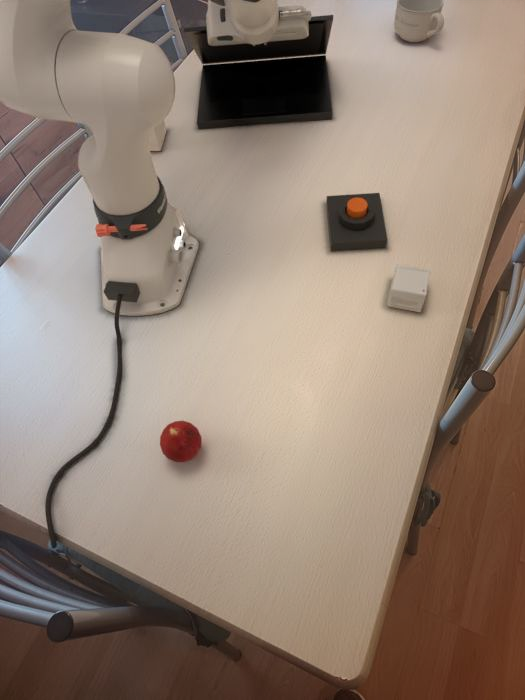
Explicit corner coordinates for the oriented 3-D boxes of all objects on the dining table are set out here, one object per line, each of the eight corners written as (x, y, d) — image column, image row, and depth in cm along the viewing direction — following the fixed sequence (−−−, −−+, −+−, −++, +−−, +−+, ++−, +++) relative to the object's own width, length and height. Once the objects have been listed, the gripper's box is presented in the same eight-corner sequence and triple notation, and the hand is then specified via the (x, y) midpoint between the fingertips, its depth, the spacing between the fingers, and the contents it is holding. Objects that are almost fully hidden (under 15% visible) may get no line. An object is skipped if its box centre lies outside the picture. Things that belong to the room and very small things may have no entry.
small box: (425, 286, 86) (431, 268, 81) (420, 313, 83) (426, 296, 79) (391, 280, 87) (396, 262, 83) (386, 307, 84) (390, 289, 80)
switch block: (385, 248, 91) (388, 232, 87) (330, 251, 91) (331, 236, 88) (378, 201, 97) (380, 185, 93) (326, 204, 97) (326, 188, 94)
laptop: (332, 119, 110) (332, 111, 109) (198, 129, 112) (196, 121, 111) (325, 62, 121) (325, 54, 120) (203, 72, 123) (202, 64, 122)
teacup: (385, 30, 126) (389, -6, 119) (424, 19, 127) (431, -16, 120) (409, 58, 119) (415, 23, 112) (451, 47, 120) (459, 11, 113)
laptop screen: (333, 19, 98) (333, 14, 98) (183, 32, 101) (183, 27, 100) (325, 54, 120) (325, 50, 119) (202, 65, 122) (202, 60, 122)
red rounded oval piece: (206, 430, 76) (195, 409, 69) (205, 467, 73) (194, 449, 66) (168, 432, 76) (154, 412, 69) (165, 470, 73) (150, 452, 66)
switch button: (367, 218, 90) (368, 211, 88) (347, 219, 90) (348, 212, 89) (365, 203, 92) (366, 196, 90) (345, 205, 92) (346, 197, 90)
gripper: (311, -10, 90) (308, 20, 103) (199, -1, 91) (211, 28, 105) (312, 29, 91) (309, 54, 105) (202, 38, 93) (213, 61, 106)
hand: (259, 41), depth 105 cm, fingers closed, pressing on laptop screen
